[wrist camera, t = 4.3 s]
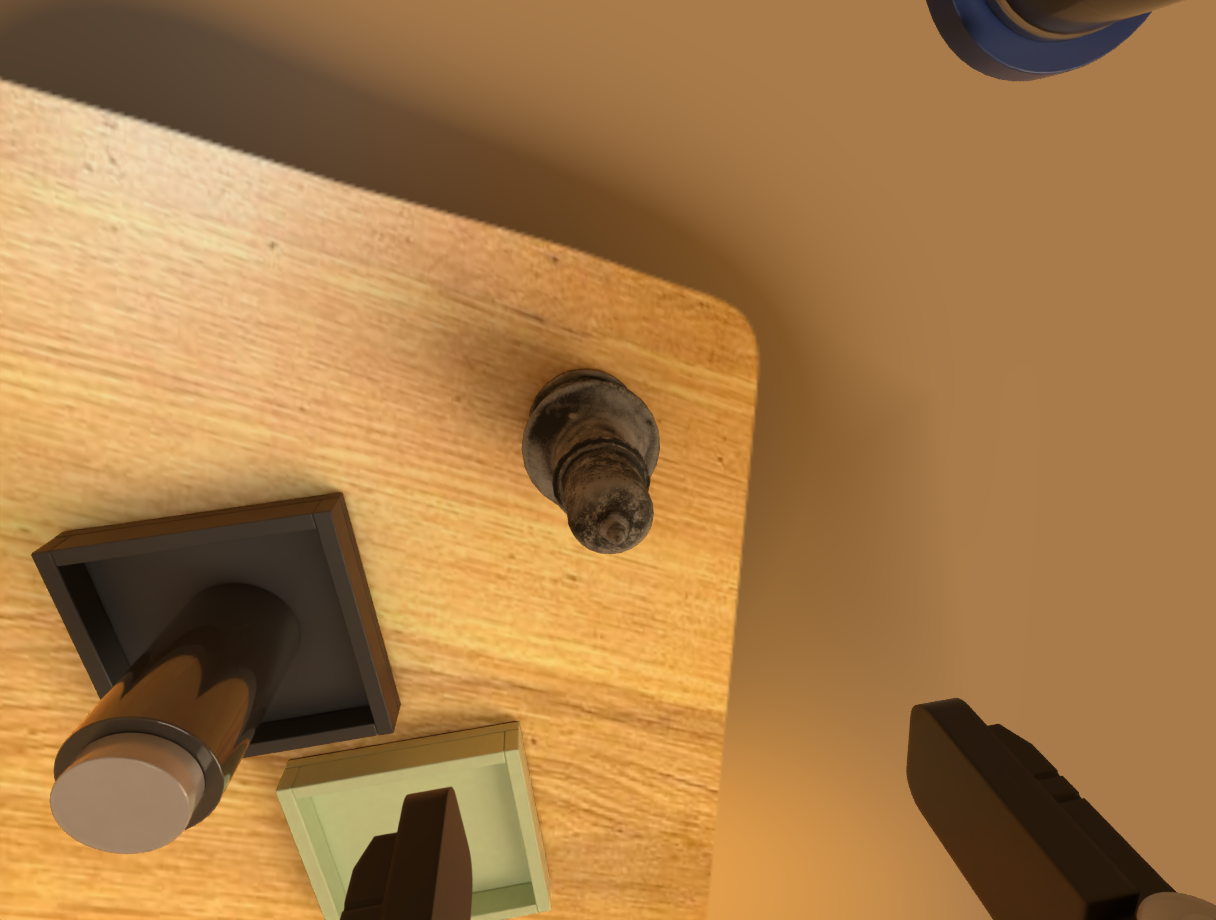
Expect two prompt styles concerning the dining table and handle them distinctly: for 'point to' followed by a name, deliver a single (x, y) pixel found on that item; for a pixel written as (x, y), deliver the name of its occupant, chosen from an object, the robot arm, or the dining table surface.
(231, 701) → the brown jar with lid
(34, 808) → the dining table surface
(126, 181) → the dining table surface
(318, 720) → the dark tray
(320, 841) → the light tray
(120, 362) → the dining table surface
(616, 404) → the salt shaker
